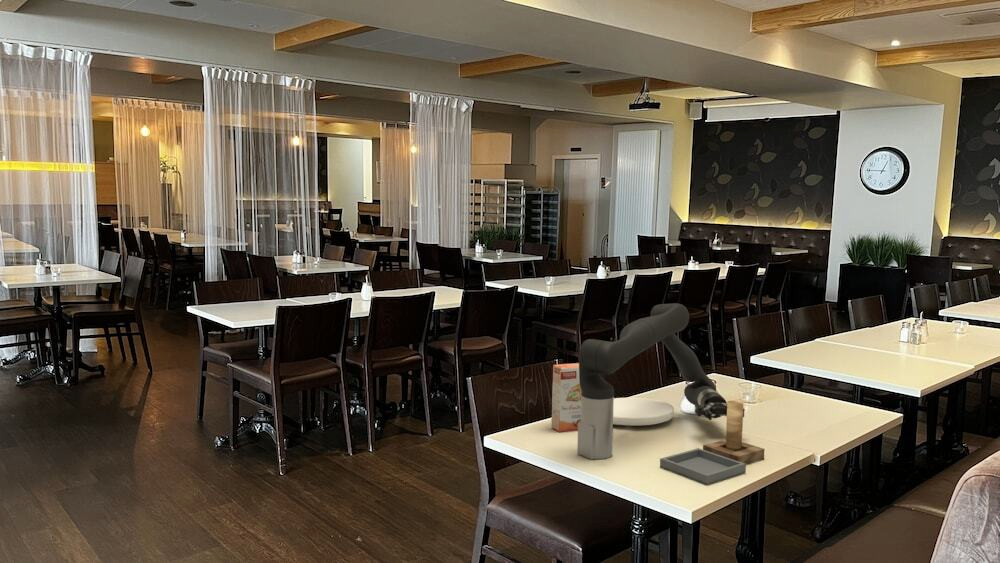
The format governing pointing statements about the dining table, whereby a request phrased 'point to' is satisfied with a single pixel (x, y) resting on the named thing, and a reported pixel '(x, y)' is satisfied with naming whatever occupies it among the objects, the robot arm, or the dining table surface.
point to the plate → (640, 411)
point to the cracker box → (566, 397)
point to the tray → (703, 466)
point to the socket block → (744, 455)
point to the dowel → (734, 425)
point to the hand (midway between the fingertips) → (725, 416)
